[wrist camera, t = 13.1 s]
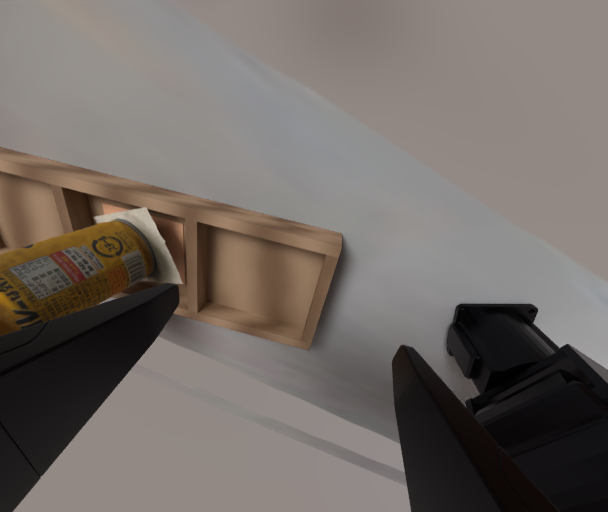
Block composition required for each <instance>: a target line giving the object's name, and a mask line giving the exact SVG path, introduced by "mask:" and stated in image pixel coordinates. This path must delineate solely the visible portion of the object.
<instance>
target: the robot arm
mask: <svg viewBox="0 0 608 512" xmlns="http://www.w3.org/2000/svg"><path fill="white" fill-rule="evenodd" d="M179 302H180V298H179V287H178V285H176V284H172V283H164V284H161V285H158V286H155V287H152V288H148V289H145V290H142V291H139V292H136V293H133V294H130V295H127V296H124V297H121V298H118V299H114V300H111V301H108V302H105V303H102V304H99V305H96V306H93V307H90V308H87V309H84V310H80V311H77V312H74V313H71V314H68V315H65V316H62V317H59V318H56V319H53V320H50V321H49V322H48V321H46V322H43V323H40V324H37V325H34V326H31V327H28V328H24V329H21V330H18V331H15V332H12V333H8V334H5V335H2V336H0V512H13V511H14V509H15V508H16V507H17V506H18V505H19V503H20V502H21V501H22V500H23V499H24V497H25V496H26V495H27V494H28V493H29V491H30V490H31V489H32V488H33V487H34V485H35V484H36V483H37V482H38V481H39V479H40V476H42V475H43V474H44V473H45V472H46V471H47V470H48V468H49V467H50V466H51V465H52V464H53V462H54V461H55V460H56V459H57V457H58V456H59V455H60V454H61V453H62V452H63V450H64V449H65V448H66V447H67V446H68V444H69V443H70V442H71V441H72V439H73V438H74V437H75V436H76V435H77V433H78V432H79V431H80V430H81V429H82V427H83V426H84V425H85V424H86V423H87V421H88V420H89V419H90V418H91V417H92V415H93V414H94V413H95V412H96V411H97V409H98V408H99V407H100V406H101V405H102V403H103V402H104V401H105V400H106V399H107V397H108V396H109V395H110V394H111V393H112V391H113V390H114V389H115V387H117V385H118V384H119V383H120V382H121V381H122V379H123V378H124V377H125V376H126V374H127V373H128V372H129V371H130V370H131V369H132V367H133V366H134V365H135V364H136V363H137V361H138V360H139V359H140V358H141V357H142V355H143V354H144V353H145V352H146V350H147V349H148V348H149V347H150V346H151V345H152V343H153V342H154V341H155V339H156V338H157V337H158V335H159V334H160V332H161V331H162V329H163V328H164V326H165V325H166V324H167V322H168V321H169V319H170V318H171V316H172V315H173V313H174V312H175V310H176V309H177V307H178V305H179ZM464 308H465V309H464ZM462 309H464V310H462ZM530 309H531V310H530ZM537 312H538V309H537V308H536V307H535V306H534V305H532V304H460V305H458V306H457V308H456V312H455V316H454V321H453V323H452V324H451V326H450V331H449V336H448V340H447V344H448V348H447V352H448V353H449V355H450V356H454V357H455V359H456V361H457V363H458V365H459V367H460V369H461V370H462V372H463V374H464V376H465V377H466V378H467V379H472V380H473V382H474V384H475V386H476V388H477V389H478V391H479V393H480V395H478V396H476V397H475V398H473V399H472V398H470V399H468V400H466V401H465V403H466V407H467V408H466V407H465V406H464V405H463V404H462V403H461V401H460V400H459V399H458V398H457V397H456V396H455V395H454V393H453V392H452V391H451V390H450V389H449V388H448V387H447V385H446V384H445V383H444V382H443V381H442V380H441V379H440V377H439V376H438V375H437V374H436V373H435V372H434V371H433V370H432V368H431V367H430V366H429V365H428V364H427V363H426V362H425V360H424V359H423V358H422V357H421V356H420V355H419V354H418V352H417V351H416V350H415V349H414V348H413V347H410V346H406V345H401V346H400V347H399V349H398V351H397V353H396V354H395V356H394V358H393V361H392V373H393V391H394V405H395V413H396V419H397V425H398V431H399V438H400V444H401V450H402V456H403V462H404V468H405V475H406V481H407V488H408V493H409V499H410V506H411V512H608V370H607V369H606V368H604V367H603V366H601V365H599V364H598V363H596V362H595V361H593V360H592V359H590V358H589V357H587V356H586V355H584V354H583V353H581V352H580V351H578V350H577V349H575V348H574V347H572V346H571V345H569V344H566V345H564V346H563V347H561V348H559V347H558V346H557V345H556V344H555V343H554V342H553V341H551V340H550V339H549V338H548V337H547V336H546V335H545V334H544V333H543V332H542V331H541V330H540V329H539V328H538V327H536V326H535V325H534V324H533V322H534V320H535V317H536V315H537Z"/></svg>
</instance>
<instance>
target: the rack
mask: <svg viewBox="0 0 608 512" xmlns="http://www.w3.org/2000/svg"><path fill="white" fill-rule="evenodd" d="M144 207H146V208H147V210H148V212H149V214H150V216H151V218H152V220H153V221H154V222H155V224H156V227H157V229H158V231H159V233H160V235H161V237H162V238H163V239H164V240H165V245H166V247H167V249H168V251H169V252H170V255H171V257H172V259H173V262H174V264H175V266H176V268H177V270H178V272H179V276H180V278H181V281H182V283H183V284H176V285H178V287H179V298H180V302H179V305H178V307H177V309H176V310H175V312H174V313H173V314H176V315H180V316H184V317H187V318H191V319H195V320H198V321H202V322H206V323H209V324H213V325H217V326H220V327H224V328H228V329H231V330H235V331H239V332H242V333H246V334H250V335H254V336H257V337H261V338H265V339H268V340H272V341H276V342H279V343H283V344H287V345H290V346H294V347H298V348H301V349H305V350H309V349H310V346H311V343H312V340H313V336H314V333H315V330H316V327H317V324H318V321H319V318H320V315H321V311H322V308H323V305H324V302H325V299H326V296H327V293H328V290H329V286H330V283H331V280H332V277H333V274H334V271H335V268H336V265H337V261H338V258H339V255H340V252H341V249H342V234H341V233H337V232H333V231H329V230H325V229H321V228H317V227H313V226H310V225H306V224H302V223H298V222H294V221H290V220H286V219H282V218H278V217H274V216H270V215H266V214H262V213H258V212H254V211H250V210H246V209H242V208H238V207H234V206H230V205H227V204H223V203H219V202H215V201H211V200H207V199H203V198H199V197H195V196H191V195H187V194H183V193H179V192H175V191H171V190H167V189H163V188H159V187H155V186H151V185H148V184H144V183H140V182H136V181H132V180H128V179H124V178H120V177H116V176H112V175H108V174H104V173H100V172H96V171H92V170H88V169H84V168H80V167H76V166H72V165H68V164H65V163H61V162H57V161H53V160H49V159H45V158H41V157H37V156H33V155H29V154H25V153H21V152H17V151H13V150H9V149H5V148H1V147H0V254H2V253H4V252H8V251H12V250H15V249H18V248H22V247H25V246H28V245H31V244H35V243H37V242H40V241H45V240H46V239H49V238H52V237H57V236H61V235H63V234H67V233H71V232H74V231H77V230H80V229H83V228H86V227H90V226H93V225H96V224H97V223H96V221H95V219H94V218H93V217H96V216H101V215H106V214H112V213H117V212H122V211H128V210H133V209H139V208H144ZM161 284H164V283H158V282H150V281H139V282H137V283H135V284H134V285H132V286H130V287H129V288H126V289H124V290H123V291H121V292H119V293H117V294H116V295H114V296H112V297H114V298H121V297H124V296H127V295H130V294H133V293H136V292H139V291H142V290H145V289H148V288H152V287H155V286H158V285H161ZM172 284H174V283H172Z"/></svg>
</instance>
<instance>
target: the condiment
mask: <svg viewBox="0 0 608 512" xmlns="http://www.w3.org/2000/svg"><path fill="white" fill-rule="evenodd" d="M93 218H94V219H95V221H96V223H97V224H96V225H93V226H90V227H86V228H83V229H80V230H77V231H74V232H71V233H67V234H63V235H61V236H57V237H52V238H49V239H46V240H45V241H40V242H37V243H35V244H31V245H28V246H25V247H22V248H18V249H15V250H12V251H8V252H4V253H2V254H0V336H2V335H5V334H8V333H12V332H15V331H18V330H21V329H24V328H28V327H31V326H34V325H37V324H40V323H43V322H46V321H48V322H49V321H50V320H53V319H56V318H59V317H62V316H65V315H68V314H71V313H74V312H77V311H80V310H84V309H87V308H90V307H93V306H96V305H97V304H99V303H101V302H103V301H105V300H107V299H108V298H110V297H112V296H114V295H116V294H117V293H119V292H121V291H123V290H124V289H126V288H129V287H130V286H132V285H134V284H135V283H137V282H139V281H150V282H158V283H174V284H183V283H182V281H181V278H180V276H179V272H178V270H177V268H176V266H175V264H174V262H173V259H172V257H171V255H170V252H169V251H168V249H167V247H166V245H165V240H164V239H163V238H162V237H161V235H160V233H159V231H158V229H157V227H156V224H155V222H154V221H153V220H152V218H151V216H150V214H149V212H148V210H147V208H146V207H144V208H139V209H133V210H128V211H122V212H117V213H112V214H106V215H101V216H96V217H93Z"/></svg>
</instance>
